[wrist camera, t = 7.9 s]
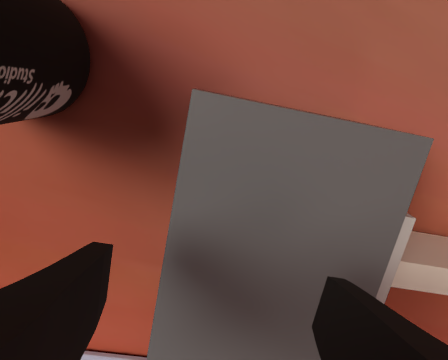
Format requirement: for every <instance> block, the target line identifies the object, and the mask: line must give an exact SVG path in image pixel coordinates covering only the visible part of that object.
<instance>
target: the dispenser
mask: <svg viewBox="0 0 448 360" xmlns="http://www.w3.org/2000/svg"><path fill="white" fill-rule="evenodd" d="M433 140H434V139H433V138H428V137H424V136H419V135H414V134H410V133H405V132H401V131H396V130H391V129H387V128H382V127H378V126H373V125H369V124H364V123H359V122H355V121H350V120H345V119H340V118H335V117H331V116H326V115H321V114H316V113H311V112H306V111H301V110H297V109H292V108H287V107H282V106H277V105H272V104H268V103H263V102H258V101H253V100H248V99H243V98H238V97H234V96H229V95H224V94H219V93H214V92H209V91H205V90H200V89H192V94H191V99H190V105H189V111H188V117H187V123H186V129H185V135H184V141H183V147H182V153H181V159H180V165H179V171H178V176H177V182H176V188H175V194H174V200H173V206H172V212H171V218H170V224H169V230H168V236H167V242H166V248H165V253H164V259H163V265H162V271H161V277H160V283H159V289H158V295H157V301H156V307H155V313H154V319H153V325H152V330H151V336H150V342H149V348H148V354H147V360H321V358H320V356H319V352H318V349H317V345H316V342H315V338H314V334H313V330H312V324H313V321H314V317H315V314H316V311H317V308H318V305H319V302H320V298H321V295H322V292H323V289H324V286H325V283H326V279H327V276H329V277H336V278H343V279H346V280H348V281H350V282H351V283H353V284H355V285H356V286H358V287H360V288H361V289H363V290H364V291H366V292H367V293H369V294H370V295H372V296H373V297H375V298H376V299H377V300H379V301H380V302H382V303H383V304H384V303H385V301H386V298H387V295H388V293H389V290H390V287H391V285H392V282H393V279H394V277H395V274H396V271H397V269H398V266H399V263H400V261H401V258H402V255H403V253H404V250H405V247H406V245H407V242H408V239H409V237H410V234H411V231H412V229H413V226H414V223H415V221H416V218H415V217H413V216H411V215H410V214H408V213H407V211H408V208H409V206H410V203H411V200H412V197H413V195H414V192H415V189H416V186H417V184H418V181H419V178H420V175H421V173H422V170H423V167H424V164H425V162H426V159H427V156H428V154H429V151H430V148H431V145H432V143H433Z"/></svg>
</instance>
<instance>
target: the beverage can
mask: <svg viewBox="0 0 448 360" xmlns="http://www.w3.org/2000/svg"><path fill="white" fill-rule="evenodd" d="M89 70H90V52H89V46H88V42H87V39H86V36H85V33H84V31H83V29H82V27H81V25H80V23H79V22H78V20H77V19H76V17H75V16H74V14H73V13H72V12H71V11H70V10H69V8H68V7H67V6H66V5H65V4H63V3H62V2H61V1H60V0H0V124H6V123H11V122H17V121H22V120H28V119H34V118H39V117H45V116H49V115H53V114H56V113H58V112H60V111H62V110H64V109H66V108H67V107H68V106H70V105H71V104H72V103H73V102H74V101H75V100H76V99H77V98H78V97H79V95H80V94H81V92H82V91H83V89H84V87H85V85H86V82H87V79H88V75H89Z"/></svg>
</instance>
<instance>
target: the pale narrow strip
mask: <svg viewBox="0 0 448 360" xmlns="http://www.w3.org/2000/svg"><path fill="white" fill-rule="evenodd" d="M391 287H395V288H402V289H409V290H416V291H423V292H429V293H436V294H443V295H448V237H444V236H439V235H433V234H427V233H421V232H415V231H411V234H410V237H409V239H408V242H407V245H406V247H405V250H404V253H403V255H402V258H401V261H400V263H399V266H398V269H397V271H396V274H395V277H394V279H393V282H392V285H391Z"/></svg>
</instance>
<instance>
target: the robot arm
mask: <svg viewBox="0 0 448 360" xmlns="http://www.w3.org/2000/svg"><path fill="white" fill-rule="evenodd" d="M112 250H113V245H112V244H105V243H98V242H92V243H90V244H88V245H86V246H84V247H83V248H81V249H79V250H77V251H76V252H74V253H72V254H70V255H68V256H67V257H65V258H63V259H61V260H59V261H58V262H56V263H54V264H52V265H50V266H48V267H46V268H44V269H42V270H40V271H38V272H36V273H34V274H32V275H30V276H28V277H26V278H24V279H22V280H19V281H17V282H15V283H13V284H11V285H8V286H6V287H3V288H1V289H0V360H147V357H137V356H128V355H119V354H110V353H101V352H92V351H85V350H86V348H87V346H88V344H89V342H90V340H91V338H92V336H93V334H94V332H95V330H96V327H97V325H98V322H99V319H100V316H101V314H102V311H103V308H104V305H105V302H106V298H107V290H108V282H109V274H110V266H111V258H112ZM312 330H313V334H314V338H315V342H316V345H317V349H318V352H319V356H320V358H321V360H448V345H446V344H445V343H443V342H441V341H440V340H438V339H436V338H435V337H433V336H432V335H430V334H429V333H427V332H425V331H424V330H422V329H421V328H419V327H417V326H416V325H414V324H413V323H411V322H410V321H408V320H407V319H405V318H404V317H402V316H401V315H399V314H398V313H396V312H395V311H393V310H392V309H390V308H389V307H388V306H386V305H385V304H383V303H382V302H380V301H379V300H377V299H376V298H375V297H373V296H372V295H370V294H369V293H367V292H366V291H364V290H363V289H361V288H360V287H358V286H356V285H355V284H353V283H351V282H350V281H348V280H346V279H343V278H336V277H329V276H327V279H326V283H325V286H324V289H323V292H322V295H321V298H320V302H319V305H318V308H317V311H316V314H315V317H314V321H313V324H312Z"/></svg>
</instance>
